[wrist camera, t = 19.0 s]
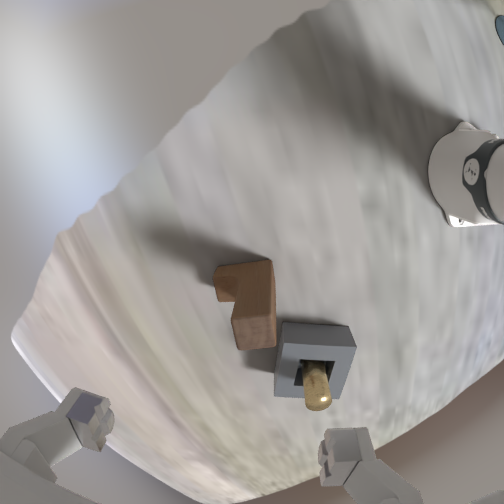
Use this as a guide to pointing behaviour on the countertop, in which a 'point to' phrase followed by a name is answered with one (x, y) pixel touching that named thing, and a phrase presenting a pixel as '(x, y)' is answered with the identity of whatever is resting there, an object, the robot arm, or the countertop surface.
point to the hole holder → (312, 356)
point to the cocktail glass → (500, 27)
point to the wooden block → (249, 302)
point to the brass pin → (315, 385)
